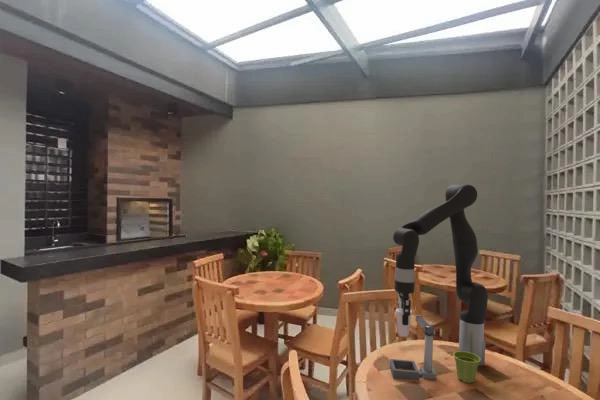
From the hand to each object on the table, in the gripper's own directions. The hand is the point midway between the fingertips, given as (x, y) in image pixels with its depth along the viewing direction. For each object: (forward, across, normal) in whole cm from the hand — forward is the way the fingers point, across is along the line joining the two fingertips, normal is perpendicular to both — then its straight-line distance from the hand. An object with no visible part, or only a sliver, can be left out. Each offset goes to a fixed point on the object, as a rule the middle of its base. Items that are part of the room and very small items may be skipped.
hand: (403, 321), depth 137 cm
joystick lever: (+4, +5, -9) cm, 11 cm away
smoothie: (+5, 0, 0) cm, 5 cm away
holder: (+19, -2, -4) cm, 20 cm away
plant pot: (+20, -2, -23) cm, 31 cm away
